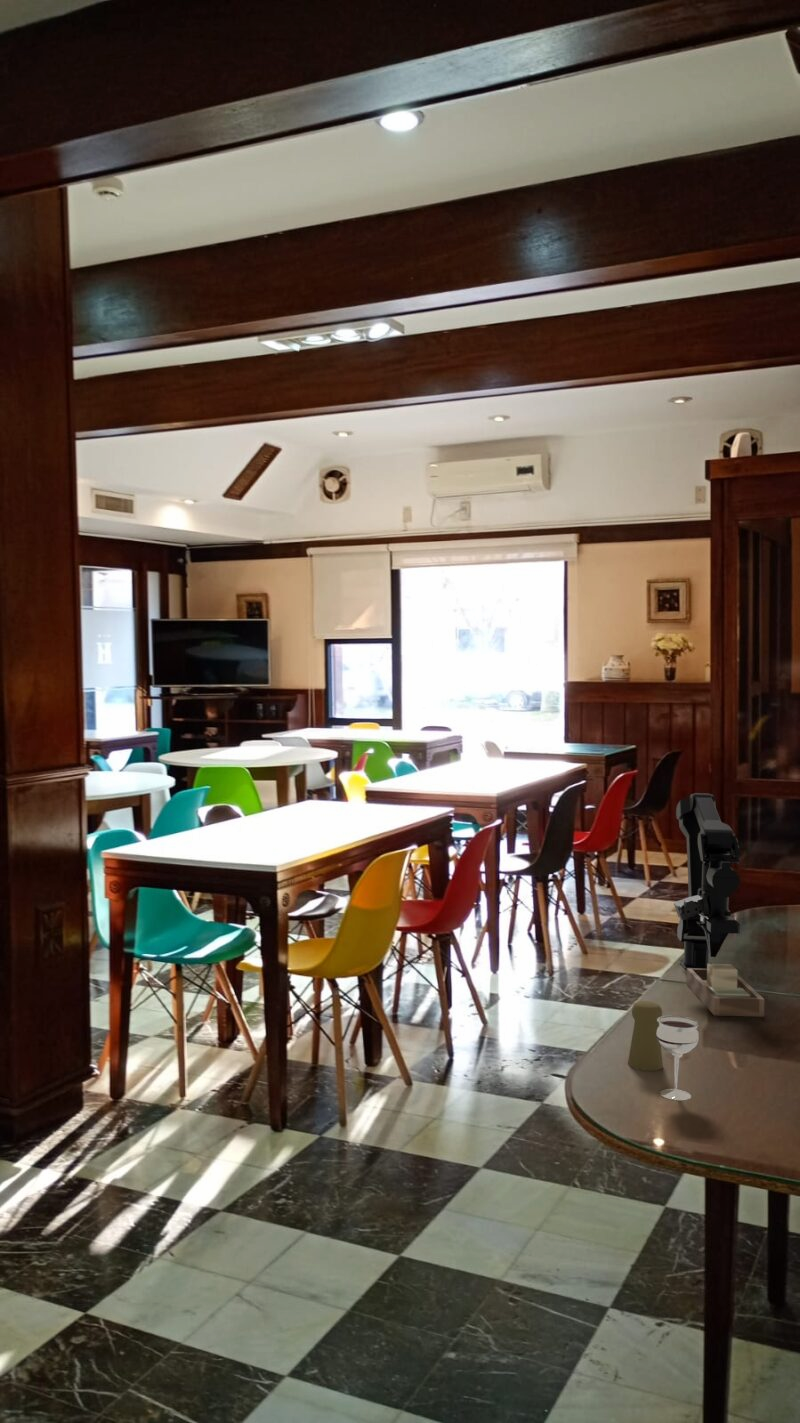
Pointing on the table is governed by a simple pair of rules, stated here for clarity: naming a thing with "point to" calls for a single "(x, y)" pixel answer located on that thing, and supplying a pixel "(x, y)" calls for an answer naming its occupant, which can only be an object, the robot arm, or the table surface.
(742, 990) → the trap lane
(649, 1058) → the cork
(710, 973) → the block
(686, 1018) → the wineglass
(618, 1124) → the table surface
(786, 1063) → the table surface
